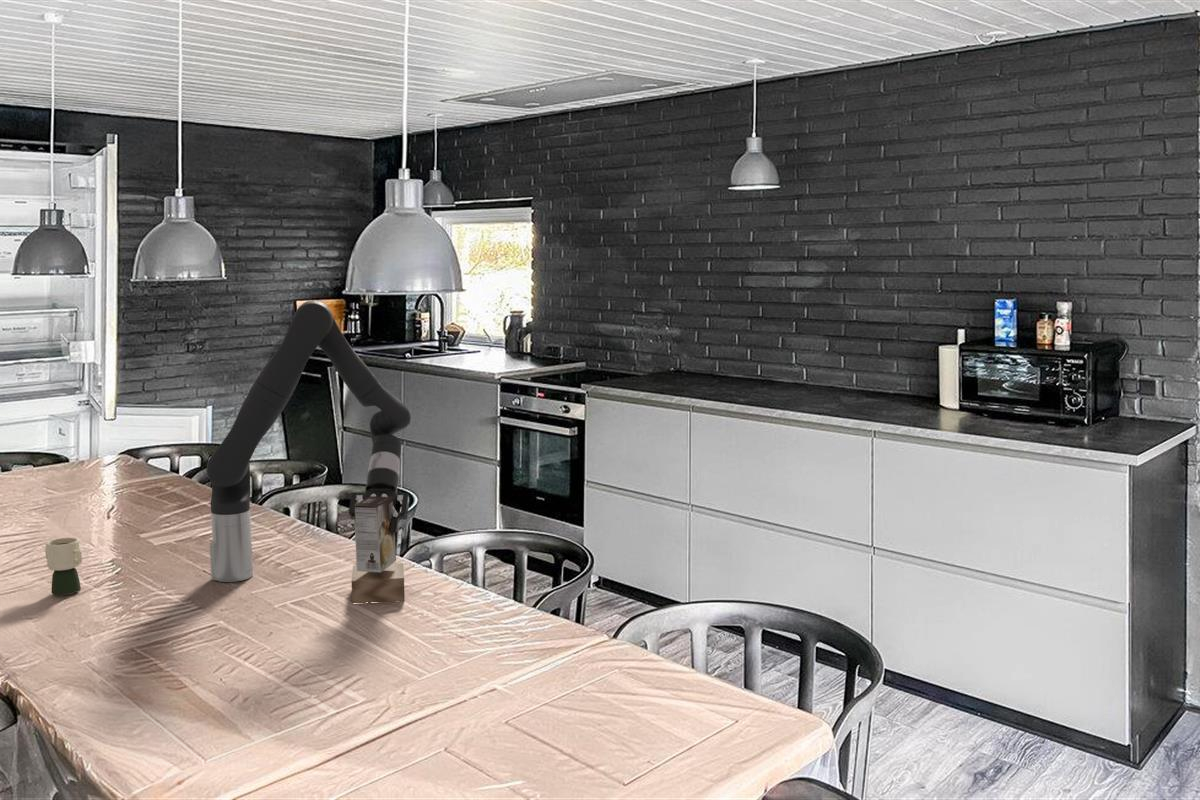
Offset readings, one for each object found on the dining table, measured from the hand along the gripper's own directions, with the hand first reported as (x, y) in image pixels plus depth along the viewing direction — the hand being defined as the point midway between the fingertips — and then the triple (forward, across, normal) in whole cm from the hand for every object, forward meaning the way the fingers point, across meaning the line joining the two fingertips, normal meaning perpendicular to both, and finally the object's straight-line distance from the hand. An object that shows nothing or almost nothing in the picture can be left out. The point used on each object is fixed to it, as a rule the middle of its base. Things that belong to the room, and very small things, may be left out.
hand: (375, 533), depth 246 cm
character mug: (+9, -75, +13) cm, 77 cm away
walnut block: (+10, 0, +12) cm, 16 cm away
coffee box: (+6, 0, +6) cm, 8 cm away
